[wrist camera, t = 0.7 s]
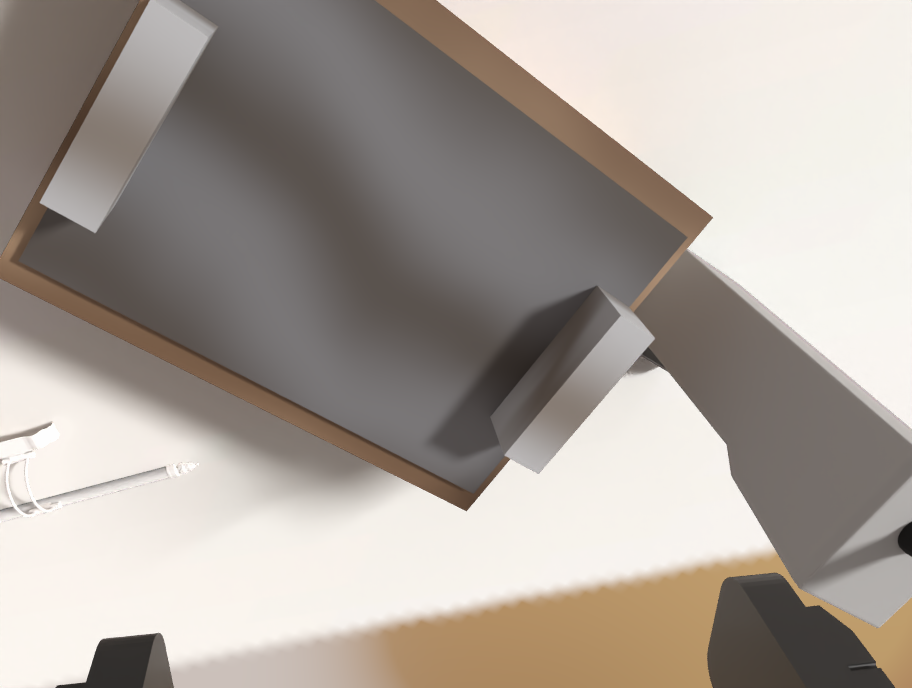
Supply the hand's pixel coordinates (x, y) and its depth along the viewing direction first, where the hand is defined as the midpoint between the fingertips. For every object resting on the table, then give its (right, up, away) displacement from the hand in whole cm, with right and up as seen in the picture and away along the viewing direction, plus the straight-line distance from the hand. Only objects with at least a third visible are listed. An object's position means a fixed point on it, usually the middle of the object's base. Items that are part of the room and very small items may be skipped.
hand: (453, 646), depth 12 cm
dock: (-4, +11, +21) cm, 24 cm away
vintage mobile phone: (+10, +6, +26) cm, 28 cm away
